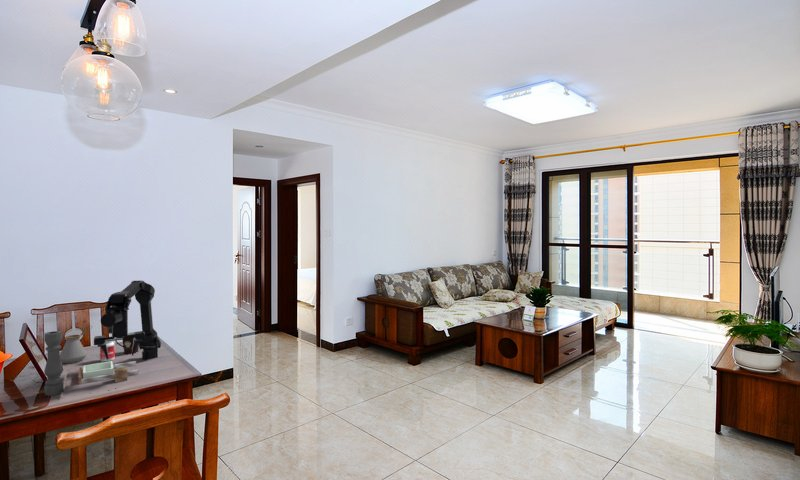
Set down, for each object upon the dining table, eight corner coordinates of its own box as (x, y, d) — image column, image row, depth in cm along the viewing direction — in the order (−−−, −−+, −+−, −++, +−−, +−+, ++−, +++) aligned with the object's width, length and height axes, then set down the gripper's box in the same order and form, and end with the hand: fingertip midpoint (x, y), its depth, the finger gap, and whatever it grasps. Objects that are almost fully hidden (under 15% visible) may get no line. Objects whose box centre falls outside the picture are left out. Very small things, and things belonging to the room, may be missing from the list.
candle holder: (51, 390, 177) (50, 330, 177) (67, 389, 178) (66, 330, 177) (40, 395, 171) (39, 334, 170) (56, 395, 172) (55, 334, 171)
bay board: (135, 367, 207) (135, 359, 206) (138, 376, 194) (138, 368, 194) (79, 376, 194) (79, 367, 194) (78, 387, 181) (78, 377, 181)
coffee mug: (144, 351, 233) (144, 333, 233) (129, 355, 225) (129, 336, 225) (128, 348, 237) (128, 331, 237) (113, 353, 229) (113, 334, 229)
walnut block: (126, 380, 189) (126, 366, 189) (127, 383, 186) (127, 369, 186) (114, 382, 187) (114, 368, 187) (115, 385, 183) (114, 371, 183)
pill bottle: (100, 362, 213) (99, 341, 212) (100, 359, 218) (99, 338, 218) (114, 360, 216) (114, 339, 216) (114, 357, 221) (114, 336, 221)
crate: (112, 369, 199) (112, 361, 199) (113, 377, 190) (113, 368, 190) (83, 374, 193) (83, 365, 193) (83, 382, 183) (82, 373, 183)
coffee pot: (78, 364, 210) (78, 334, 210) (53, 365, 208) (52, 335, 208) (102, 351, 231) (101, 324, 231) (79, 352, 229) (78, 325, 229)
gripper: (143, 316, 198) (143, 349, 198) (93, 321, 187) (94, 356, 187) (145, 320, 189) (145, 355, 189) (93, 326, 178) (93, 362, 178)
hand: (120, 357), depth 186 cm, fingers open, 9 cm apart
